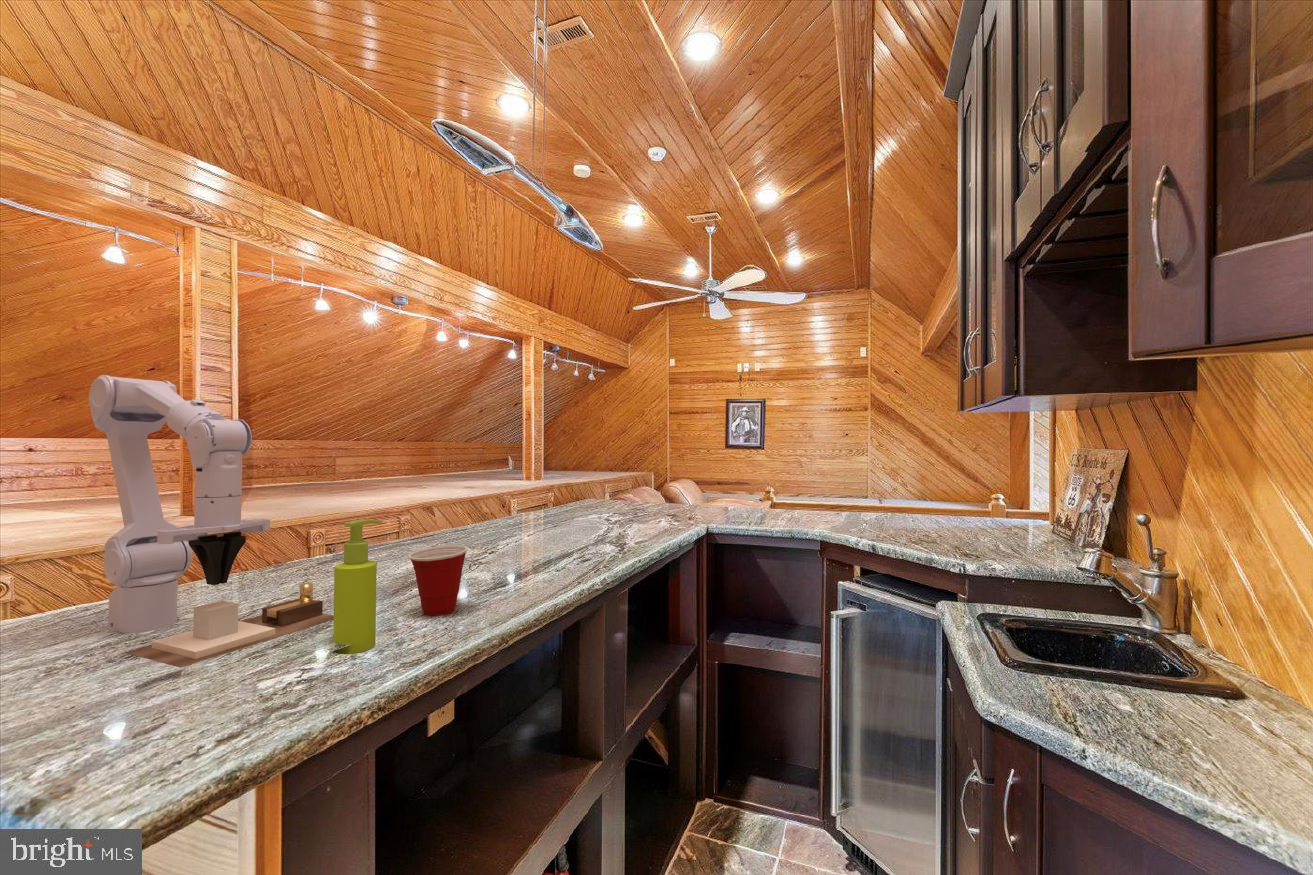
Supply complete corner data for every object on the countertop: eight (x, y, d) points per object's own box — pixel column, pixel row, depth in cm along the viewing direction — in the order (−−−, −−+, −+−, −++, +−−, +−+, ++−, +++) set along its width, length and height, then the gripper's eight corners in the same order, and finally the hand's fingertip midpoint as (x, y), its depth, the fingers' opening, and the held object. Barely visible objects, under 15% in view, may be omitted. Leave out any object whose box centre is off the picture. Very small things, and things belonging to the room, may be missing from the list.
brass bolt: (266, 616, 92) (267, 591, 93) (307, 605, 99) (307, 582, 99) (276, 618, 92) (276, 593, 92) (316, 606, 98) (316, 583, 98)
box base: (124, 662, 80) (125, 635, 80) (289, 615, 102) (289, 594, 102) (180, 678, 74) (181, 648, 74) (341, 625, 96) (341, 602, 96)
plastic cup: (397, 611, 105) (398, 549, 105) (452, 600, 112) (452, 542, 113) (421, 624, 97) (422, 557, 97) (477, 611, 105) (478, 549, 105)
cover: (151, 647, 81) (152, 611, 81) (232, 625, 91) (233, 593, 92) (195, 659, 77) (196, 620, 77) (275, 634, 87) (275, 600, 87)
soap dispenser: (389, 642, 88) (391, 519, 89) (349, 656, 82) (351, 524, 82) (364, 636, 91) (366, 517, 91) (324, 650, 85) (326, 522, 85)
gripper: (178, 501, 77) (176, 598, 76) (282, 493, 90) (281, 575, 90) (149, 499, 79) (147, 592, 79) (255, 492, 93) (254, 571, 92)
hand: (216, 583), depth 84 cm, fingers closed
